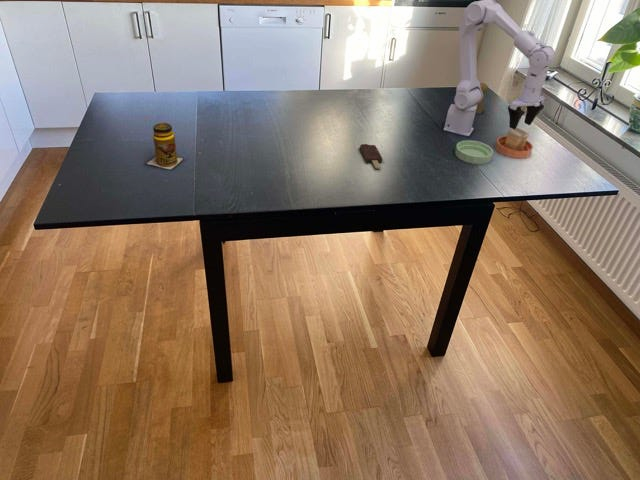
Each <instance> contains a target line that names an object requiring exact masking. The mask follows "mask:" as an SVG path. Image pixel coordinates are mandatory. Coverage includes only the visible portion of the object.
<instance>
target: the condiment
mask: <svg viewBox="0 0 640 480" xmlns="http://www.w3.org/2000/svg"><path fill="white" fill-rule="evenodd" d="M152 128H153V129H152V130H153V136H152V138H153V144H154V151H155V156H154V157H153V158H152V159H151V160H149V161H148V162H146V165H150V166H154V167H158V168H163V169H165V170H172V169H174V168H175V167H176V166H177V165H178V164H179V163H181V162H182V161H183V160H184V158H182V157H178V153H177V145H176V137H175V133H174V131H173V127H172V125H171V124H170V123H168V122H159V123H157V124H155V125H153V127H152Z"/></svg>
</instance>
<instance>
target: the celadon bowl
mask: <svg viewBox="0 0 640 480" xmlns="http://www.w3.org/2000/svg"><path fill="white" fill-rule="evenodd" d="M454 154H455V156H456V157H457V158H458V159H459V160H461V161H463V162H466V163H468V164H473V165H486V164H488V163H490V162H491V161H492V158H493V154H494V150H493V148H492V147H491V146H490V145H488V144H486V143H484V142H481V141H478V140H461V141H459V142H457V143H456V145H455V150H454Z"/></svg>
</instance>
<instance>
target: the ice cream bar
mask: <svg viewBox="0 0 640 480" xmlns="http://www.w3.org/2000/svg"><path fill="white" fill-rule="evenodd" d="M359 151H360V153H361V155H362V157H363V159H364V161H365V163H367V164H371V163H372V164H373V167H374V168H375V169H376V170H380V169H381V165H380V163H382V162H383V156H382V155H381V153H380V151H379V149H378V148H377V146H376V144H368V143H363V144H362V143H361V144H360V145H359Z"/></svg>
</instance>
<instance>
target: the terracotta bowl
mask: <svg viewBox="0 0 640 480" xmlns="http://www.w3.org/2000/svg"><path fill="white" fill-rule="evenodd" d="M507 136H508V135H502V136H499V137H497V139H496V142H495V144H494V149H495V151H496V152H498V153H499V154H500V155H503V156H504V157H506V158H507V157H508V158H511V159H519V160H523V159H527V158H529V157H530V156H531V154H532V151H533V148H534V146H533V144H532V143H531V142H530V141H529V140H526V143H525V146H524V149H523V151H514V150H511V149H507V148H505V147H504V145H505V142H506V139H507Z"/></svg>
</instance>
